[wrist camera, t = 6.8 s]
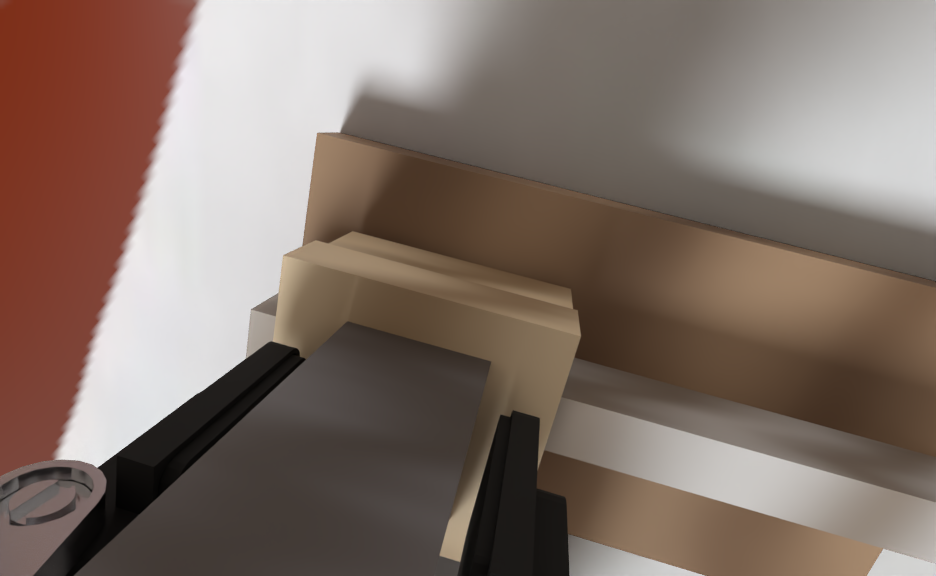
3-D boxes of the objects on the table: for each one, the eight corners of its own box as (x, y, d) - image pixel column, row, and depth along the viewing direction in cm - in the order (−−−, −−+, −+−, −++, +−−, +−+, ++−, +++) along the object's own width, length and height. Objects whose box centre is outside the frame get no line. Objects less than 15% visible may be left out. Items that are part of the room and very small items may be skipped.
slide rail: (980, 292, 14) (1139, 353, 10) (817, 576, 17) (892, 702, 13) (338, 132, 15) (268, 133, 12) (297, 421, 19) (232, 496, 15)
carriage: (573, 280, 14) (624, 675, 4) (515, 469, 16) (448, 1060, 6) (353, 222, 14) (-110, 438, 4) (323, 412, 16) (-46, 867, 6)
